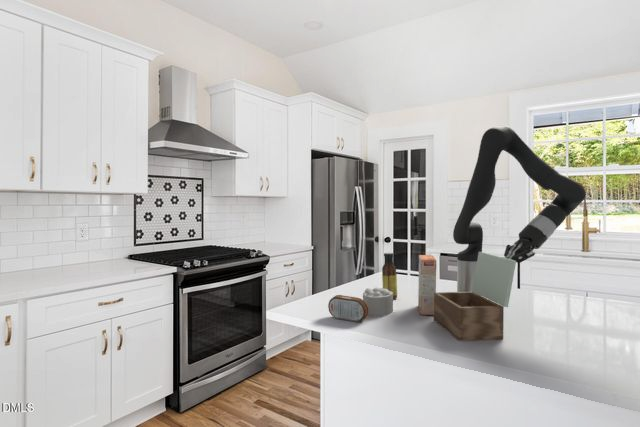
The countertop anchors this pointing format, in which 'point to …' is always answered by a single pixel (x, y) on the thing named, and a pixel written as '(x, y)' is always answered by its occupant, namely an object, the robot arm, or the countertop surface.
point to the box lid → (494, 278)
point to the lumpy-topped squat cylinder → (378, 301)
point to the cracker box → (426, 284)
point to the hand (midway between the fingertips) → (502, 268)
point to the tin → (348, 308)
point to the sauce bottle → (389, 274)
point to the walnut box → (468, 316)
